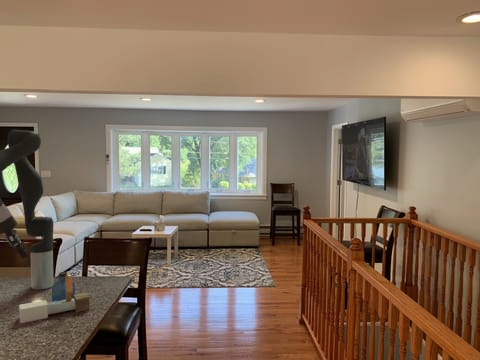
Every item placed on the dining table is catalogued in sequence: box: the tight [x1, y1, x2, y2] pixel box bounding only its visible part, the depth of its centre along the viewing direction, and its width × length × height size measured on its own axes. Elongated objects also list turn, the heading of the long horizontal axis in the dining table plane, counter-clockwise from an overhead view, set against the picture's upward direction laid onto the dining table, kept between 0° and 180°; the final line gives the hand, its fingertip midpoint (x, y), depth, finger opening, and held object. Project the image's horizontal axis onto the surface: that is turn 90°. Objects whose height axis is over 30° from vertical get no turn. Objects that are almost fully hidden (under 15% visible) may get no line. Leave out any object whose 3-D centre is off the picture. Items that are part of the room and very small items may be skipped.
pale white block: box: [18, 299, 49, 324], centre depth 138 cm, size 5×9×5 cm, turn 123°
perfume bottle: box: [51, 271, 76, 302], centre depth 155 cm, size 6×6×12 cm
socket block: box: [74, 292, 90, 313], centre depth 147 cm, size 5×5×5 cm
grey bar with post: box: [47, 274, 76, 315], centre depth 143 cm, size 3×16×13 cm, turn 123°
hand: (24, 253), depth 139 cm, fingers open, 8 cm apart
